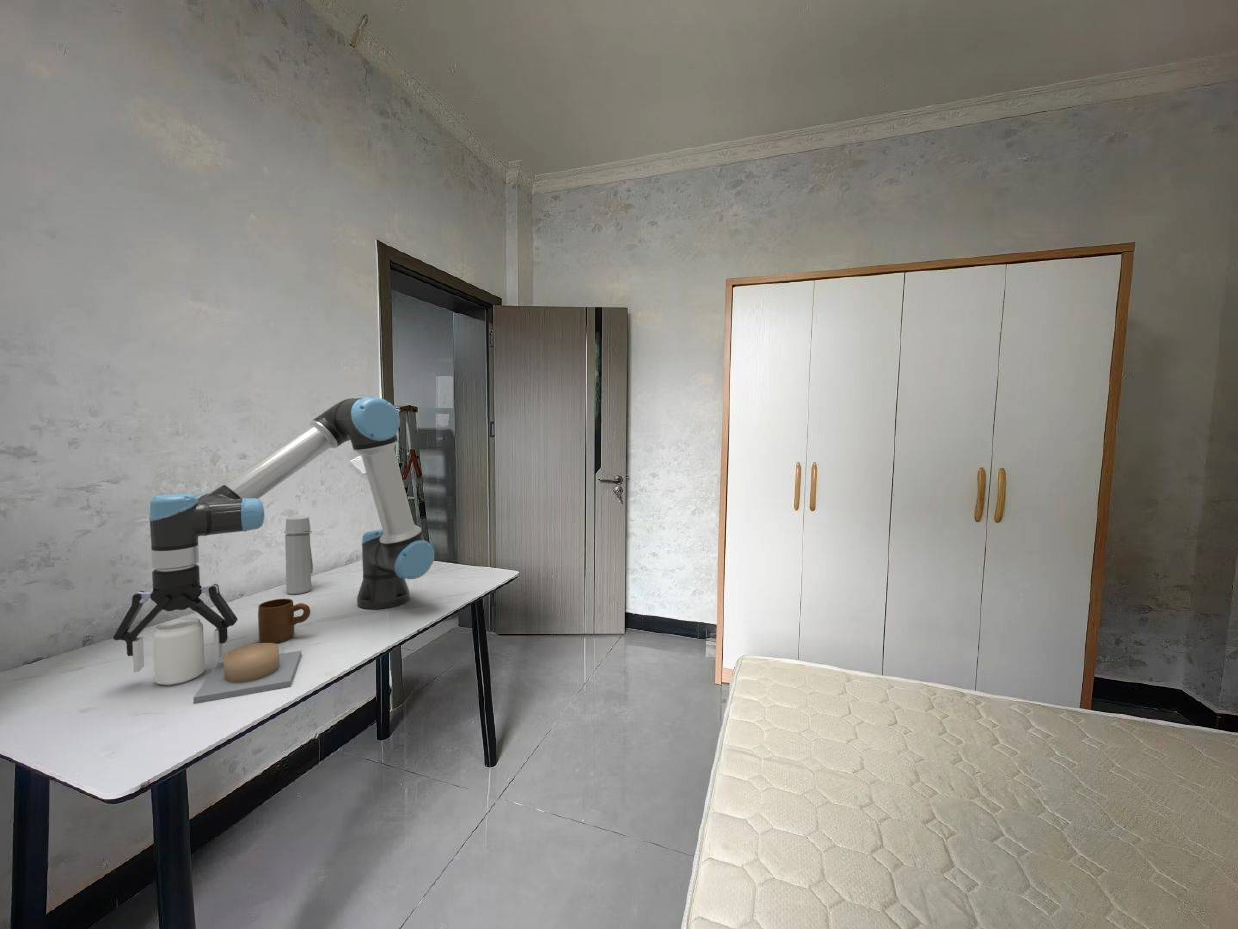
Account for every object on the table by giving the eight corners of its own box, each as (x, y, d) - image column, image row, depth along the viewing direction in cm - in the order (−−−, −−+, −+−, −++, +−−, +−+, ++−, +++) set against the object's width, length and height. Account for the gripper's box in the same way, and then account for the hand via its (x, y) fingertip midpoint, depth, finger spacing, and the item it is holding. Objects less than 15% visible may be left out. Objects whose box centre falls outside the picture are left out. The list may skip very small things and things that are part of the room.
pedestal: (301, 655, 118) (300, 632, 118) (290, 686, 104) (289, 660, 103) (218, 668, 111) (217, 644, 111) (193, 703, 97) (192, 675, 96)
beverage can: (175, 669, 110) (173, 617, 110) (214, 668, 111) (212, 616, 110) (144, 687, 102) (141, 631, 102) (185, 686, 103) (183, 630, 102)
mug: (317, 631, 132) (317, 597, 131) (303, 643, 124) (302, 607, 124) (269, 633, 131) (268, 598, 130) (252, 645, 123) (250, 608, 122)
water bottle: (300, 596, 160) (298, 520, 158) (279, 594, 162) (277, 519, 160) (322, 587, 169) (320, 515, 167) (302, 585, 171) (301, 514, 169)
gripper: (251, 557, 114) (254, 646, 115) (106, 568, 103) (111, 666, 104) (242, 565, 107) (246, 660, 108) (87, 578, 96) (92, 683, 98)
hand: (180, 663), depth 106 cm, fingers open, 13 cm apart
